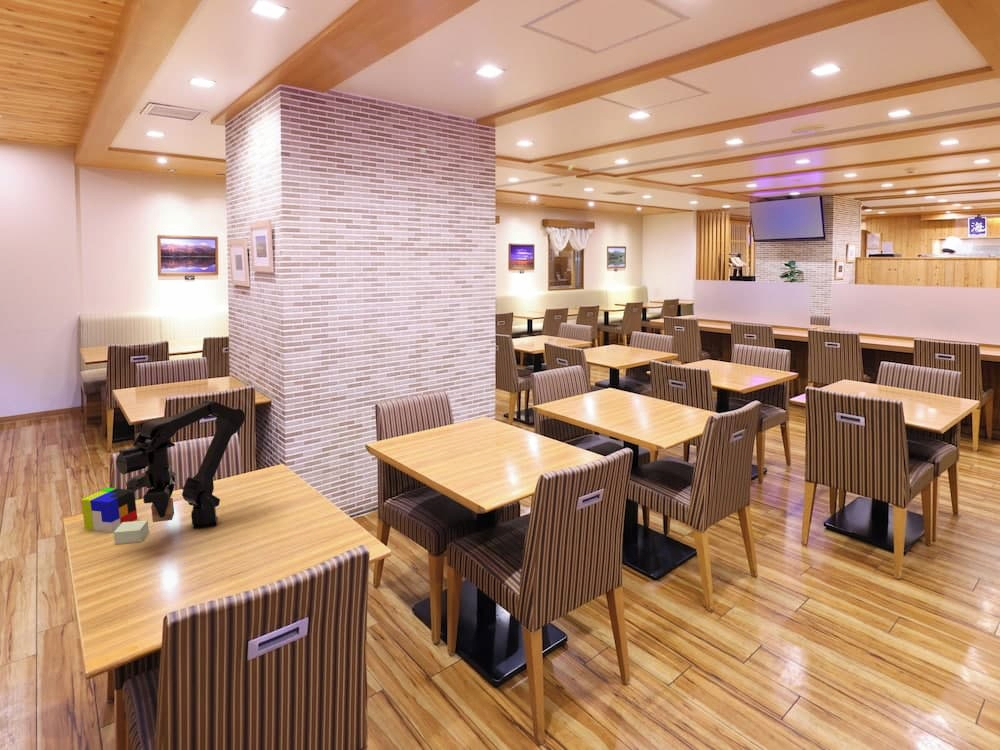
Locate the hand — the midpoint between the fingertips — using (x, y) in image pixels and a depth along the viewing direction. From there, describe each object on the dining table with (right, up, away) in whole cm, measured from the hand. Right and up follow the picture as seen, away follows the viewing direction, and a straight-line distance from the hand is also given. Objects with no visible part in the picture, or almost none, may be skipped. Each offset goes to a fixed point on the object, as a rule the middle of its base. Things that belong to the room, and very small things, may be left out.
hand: (163, 513), depth 182 cm
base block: (-11, -8, +3) cm, 14 cm away
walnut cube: (0, -1, 0) cm, 1 cm away
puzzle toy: (-23, -6, +12) cm, 27 cm away
